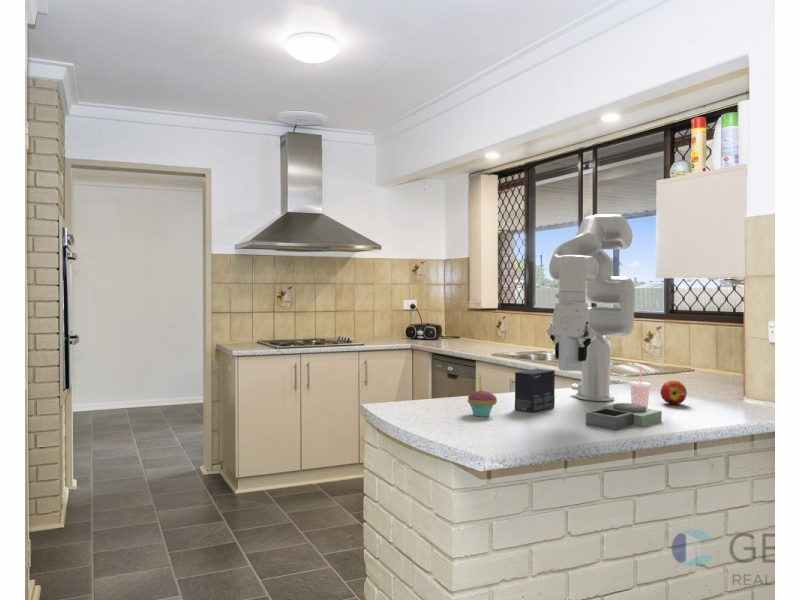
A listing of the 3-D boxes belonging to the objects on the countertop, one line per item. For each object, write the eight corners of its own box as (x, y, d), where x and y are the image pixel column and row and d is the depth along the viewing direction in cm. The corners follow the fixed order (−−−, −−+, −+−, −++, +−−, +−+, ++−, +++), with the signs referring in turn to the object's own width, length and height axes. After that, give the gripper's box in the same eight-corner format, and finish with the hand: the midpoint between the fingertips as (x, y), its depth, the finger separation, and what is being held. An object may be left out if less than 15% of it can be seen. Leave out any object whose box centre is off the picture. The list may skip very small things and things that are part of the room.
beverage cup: (646, 414, 194) (648, 368, 194) (626, 411, 198) (627, 366, 198) (652, 411, 199) (653, 366, 199) (632, 408, 203) (633, 365, 202)
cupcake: (462, 413, 190) (463, 372, 190) (487, 411, 193) (488, 372, 193) (475, 418, 182) (476, 377, 182) (501, 417, 185) (502, 376, 185)
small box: (536, 404, 207) (537, 368, 206) (555, 408, 202) (556, 370, 202) (513, 410, 197) (514, 371, 197) (532, 413, 192) (533, 373, 192)
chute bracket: (585, 424, 178) (586, 412, 177) (603, 419, 184) (604, 407, 184) (615, 430, 171) (616, 417, 171) (633, 425, 178) (633, 412, 178)
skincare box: (577, 369, 187) (578, 328, 187) (583, 371, 183) (584, 329, 183) (557, 369, 187) (558, 327, 186) (562, 371, 182) (563, 328, 182)
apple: (661, 405, 210) (662, 381, 210) (659, 401, 218) (659, 378, 218) (687, 407, 208) (688, 382, 208) (684, 403, 216) (685, 379, 216)
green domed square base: (596, 418, 186) (596, 404, 186) (616, 413, 194) (616, 400, 194) (642, 426, 176) (642, 412, 176) (661, 421, 184) (661, 407, 184)
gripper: (539, 297, 188) (537, 357, 188) (592, 299, 175) (590, 363, 176) (553, 297, 193) (552, 355, 194) (606, 298, 180) (604, 361, 181)
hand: (570, 359), depth 185 cm, fingers closed on skincare box, 6 cm apart
